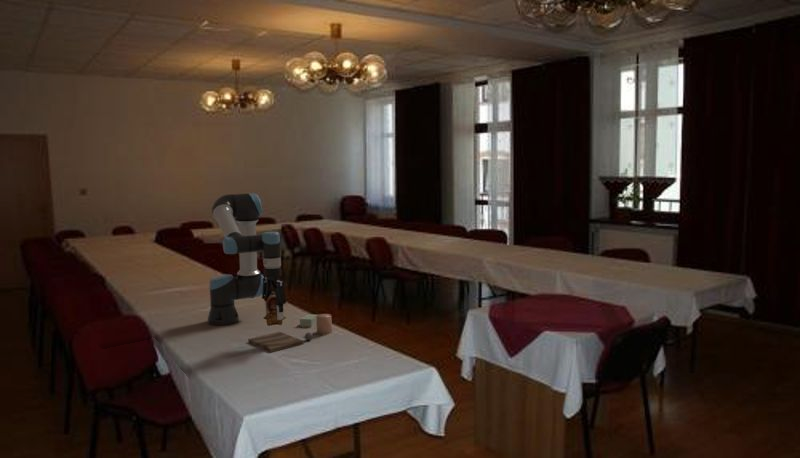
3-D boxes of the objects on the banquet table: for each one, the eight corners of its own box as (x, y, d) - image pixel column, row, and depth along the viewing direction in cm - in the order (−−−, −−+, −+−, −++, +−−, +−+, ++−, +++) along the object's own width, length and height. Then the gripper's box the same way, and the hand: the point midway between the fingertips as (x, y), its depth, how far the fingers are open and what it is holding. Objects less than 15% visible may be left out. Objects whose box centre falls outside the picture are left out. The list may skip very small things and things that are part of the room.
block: (300, 326, 287) (299, 318, 287) (307, 321, 296) (307, 314, 295) (311, 327, 286) (311, 319, 285) (318, 322, 294) (318, 314, 294)
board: (248, 342, 263) (248, 339, 263) (279, 334, 274) (279, 331, 274) (271, 352, 248) (271, 348, 248) (303, 343, 259) (303, 340, 259)
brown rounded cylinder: (314, 332, 277) (313, 315, 276) (326, 329, 281) (325, 313, 280) (322, 335, 271) (322, 318, 271) (334, 332, 276) (334, 315, 275)
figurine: (263, 326, 254) (262, 292, 256) (263, 326, 261) (261, 292, 263) (287, 324, 256) (285, 290, 258) (285, 324, 264) (283, 291, 265)
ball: (303, 340, 265) (303, 332, 264) (310, 338, 267) (309, 330, 267) (307, 341, 262) (307, 334, 262) (314, 340, 265) (314, 332, 264)
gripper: (252, 265, 263) (254, 314, 265) (277, 271, 247) (280, 323, 249) (267, 263, 268) (269, 311, 270) (293, 268, 252) (295, 320, 254)
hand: (274, 317), depth 260 cm, fingers closed on figurine, 9 cm apart
